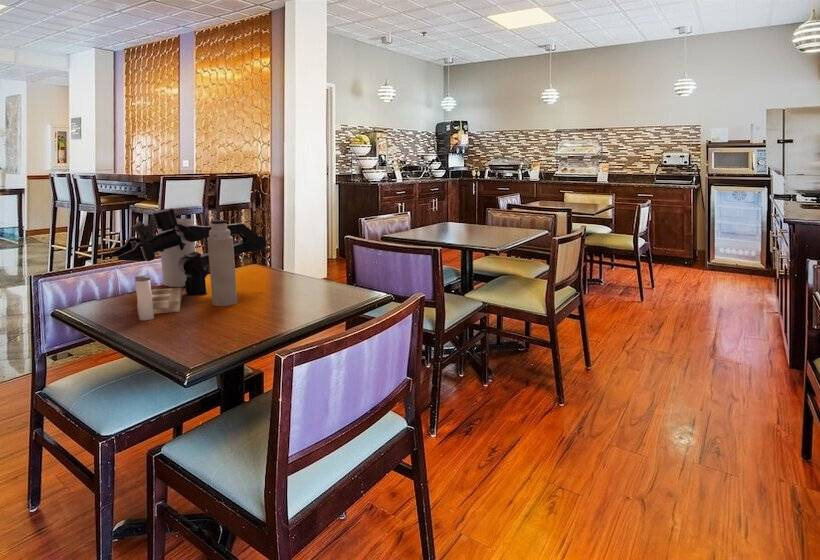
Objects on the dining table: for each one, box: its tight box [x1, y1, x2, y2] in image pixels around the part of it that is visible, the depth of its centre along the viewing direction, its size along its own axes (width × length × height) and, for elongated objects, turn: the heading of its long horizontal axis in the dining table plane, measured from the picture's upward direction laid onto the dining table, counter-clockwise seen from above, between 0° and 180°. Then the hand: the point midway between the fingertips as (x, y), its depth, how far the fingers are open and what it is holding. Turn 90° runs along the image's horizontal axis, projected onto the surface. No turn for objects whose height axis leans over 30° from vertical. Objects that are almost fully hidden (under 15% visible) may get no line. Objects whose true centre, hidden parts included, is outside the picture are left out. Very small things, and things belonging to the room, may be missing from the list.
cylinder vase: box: [157, 218, 197, 288], centre depth 209 cm, size 12×12×25 cm
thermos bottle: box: [206, 219, 238, 307], centre depth 180 cm, size 8×8×28 cm
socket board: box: [136, 287, 183, 316], centre depth 179 cm, size 12×20×5 cm, turn 20°
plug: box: [134, 274, 155, 321], centre depth 163 cm, size 4×4×13 cm
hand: (114, 256), depth 178 cm, fingers open, 9 cm apart
